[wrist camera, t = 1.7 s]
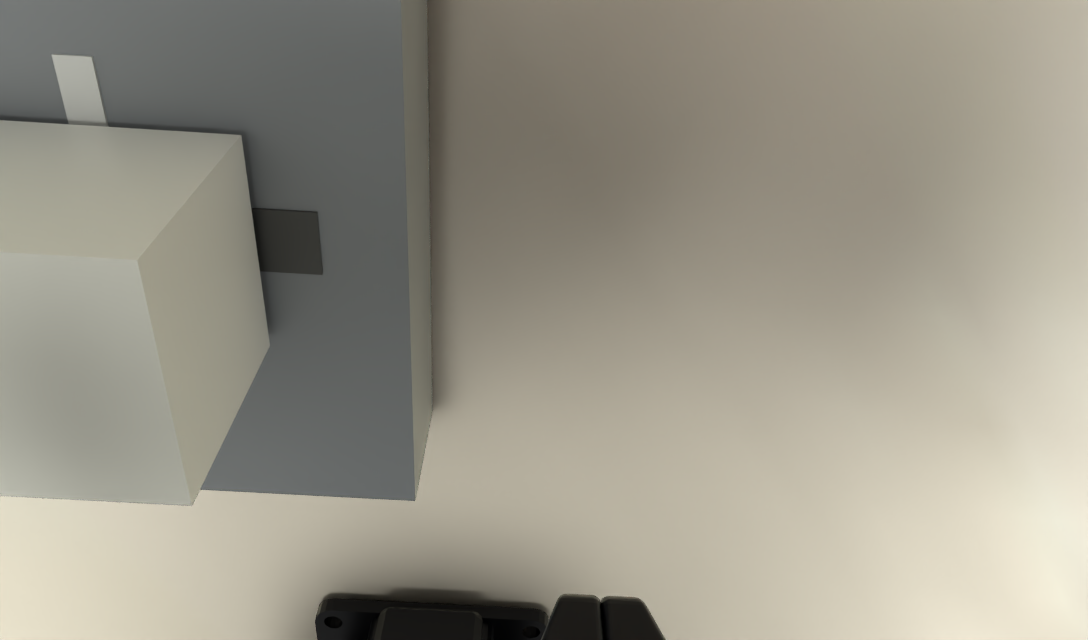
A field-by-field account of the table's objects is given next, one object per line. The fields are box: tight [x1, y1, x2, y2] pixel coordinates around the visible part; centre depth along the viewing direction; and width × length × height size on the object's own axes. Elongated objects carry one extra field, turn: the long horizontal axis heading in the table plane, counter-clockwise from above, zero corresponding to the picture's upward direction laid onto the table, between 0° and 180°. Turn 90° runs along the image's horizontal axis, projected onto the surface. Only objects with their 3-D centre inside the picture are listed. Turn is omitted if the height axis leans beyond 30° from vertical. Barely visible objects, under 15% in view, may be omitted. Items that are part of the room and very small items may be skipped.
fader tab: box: [0, 120, 270, 506], centre depth 13 cm, size 4×5×4 cm
